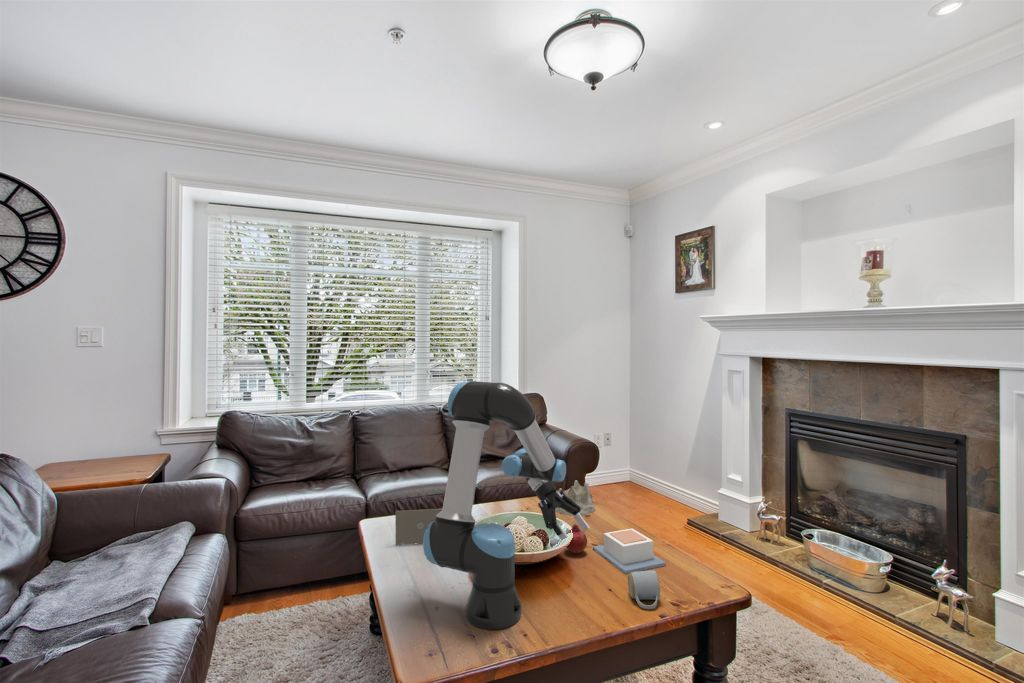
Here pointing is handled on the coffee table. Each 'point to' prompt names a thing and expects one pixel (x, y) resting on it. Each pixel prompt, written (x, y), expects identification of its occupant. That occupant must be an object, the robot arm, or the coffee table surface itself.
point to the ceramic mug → (644, 587)
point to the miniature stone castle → (579, 499)
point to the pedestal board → (630, 566)
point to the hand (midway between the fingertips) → (577, 536)
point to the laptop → (413, 525)
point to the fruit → (577, 540)
